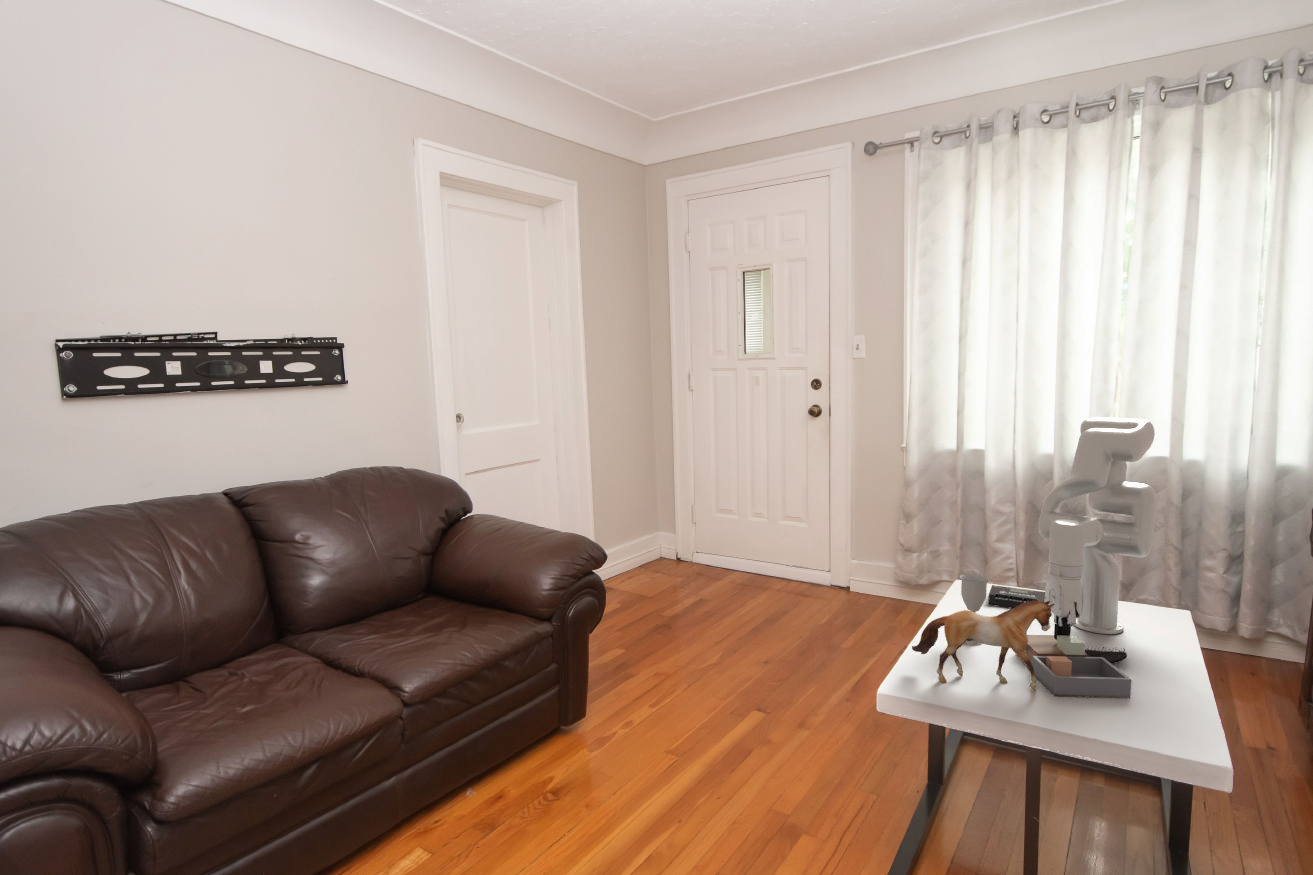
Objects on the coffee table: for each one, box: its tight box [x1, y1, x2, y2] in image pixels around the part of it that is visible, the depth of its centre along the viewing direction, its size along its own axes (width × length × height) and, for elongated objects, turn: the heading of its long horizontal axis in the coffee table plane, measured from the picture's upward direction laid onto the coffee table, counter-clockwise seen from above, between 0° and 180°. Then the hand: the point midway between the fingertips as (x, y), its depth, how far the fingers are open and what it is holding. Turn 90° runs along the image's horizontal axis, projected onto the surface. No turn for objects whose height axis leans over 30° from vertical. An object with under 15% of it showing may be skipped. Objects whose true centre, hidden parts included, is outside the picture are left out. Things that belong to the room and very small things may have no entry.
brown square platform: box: [1025, 634, 1087, 663], centre depth 178 cm, size 12×12×5 cm
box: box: [1032, 656, 1132, 699], centre depth 166 cm, size 12×16×4 cm
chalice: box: [959, 573, 990, 646], centre depth 192 cm, size 7×7×18 cm
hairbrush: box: [1085, 646, 1128, 665], centre depth 185 cm, size 8×4×25 cm
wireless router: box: [988, 584, 1045, 609], centre depth 220 cm, size 20×14×17 cm
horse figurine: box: [911, 600, 1054, 692], centre depth 168 cm, size 31×8×21 cm, turn 72°
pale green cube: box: [1057, 635, 1086, 655], centre depth 174 cm, size 4×4×3 cm
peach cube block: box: [1046, 656, 1072, 677], centre depth 169 cm, size 4×4×3 cm
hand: (1062, 639), depth 178 cm, fingers closed
